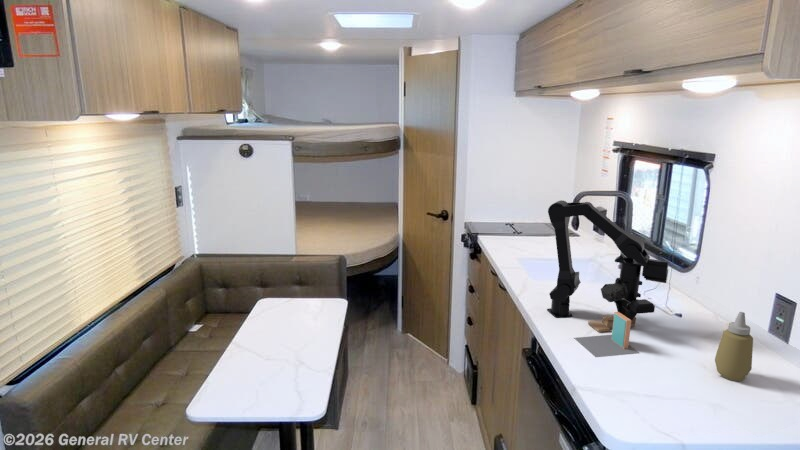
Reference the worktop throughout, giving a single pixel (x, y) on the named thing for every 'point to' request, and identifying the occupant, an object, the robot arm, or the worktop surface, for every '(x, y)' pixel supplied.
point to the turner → (606, 324)
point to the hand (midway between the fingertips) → (624, 322)
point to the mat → (604, 346)
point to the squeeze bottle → (735, 350)
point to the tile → (621, 330)
